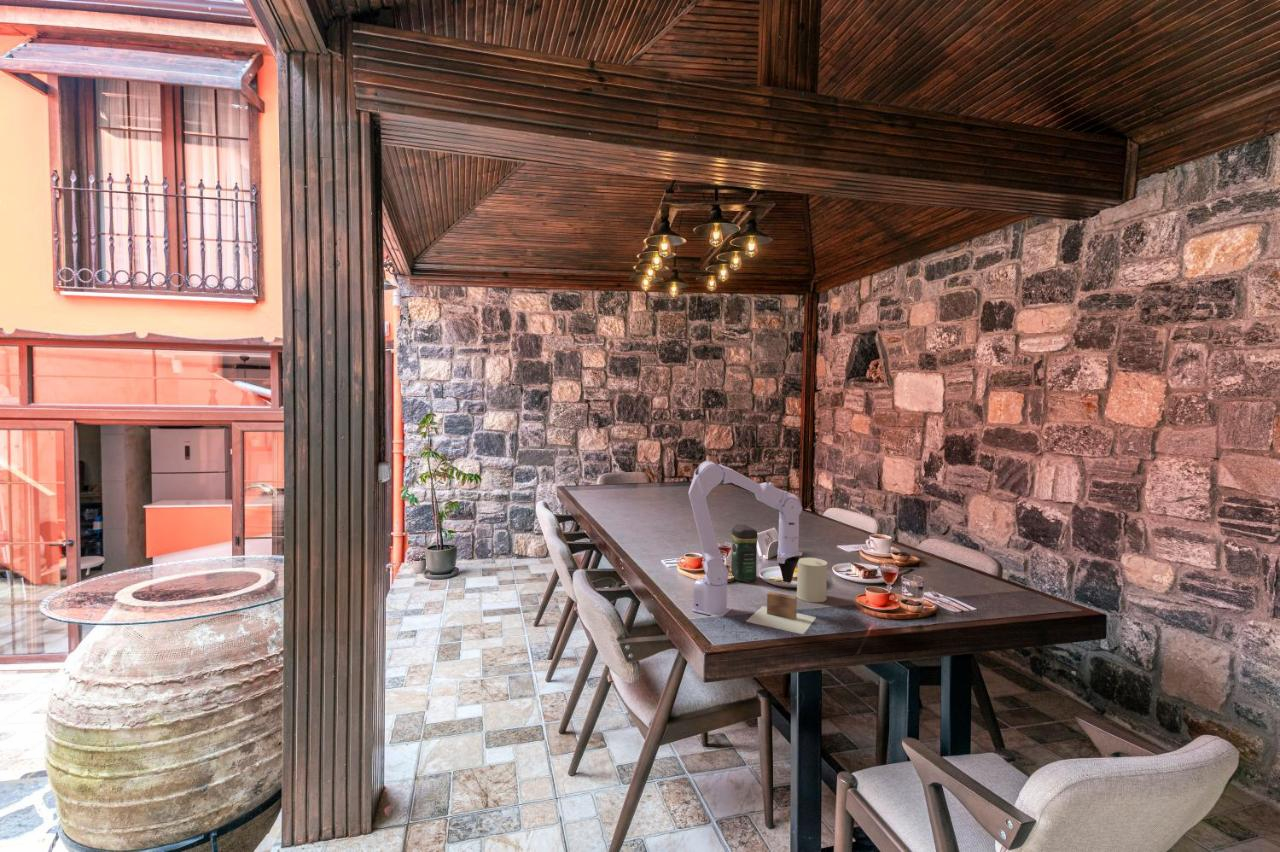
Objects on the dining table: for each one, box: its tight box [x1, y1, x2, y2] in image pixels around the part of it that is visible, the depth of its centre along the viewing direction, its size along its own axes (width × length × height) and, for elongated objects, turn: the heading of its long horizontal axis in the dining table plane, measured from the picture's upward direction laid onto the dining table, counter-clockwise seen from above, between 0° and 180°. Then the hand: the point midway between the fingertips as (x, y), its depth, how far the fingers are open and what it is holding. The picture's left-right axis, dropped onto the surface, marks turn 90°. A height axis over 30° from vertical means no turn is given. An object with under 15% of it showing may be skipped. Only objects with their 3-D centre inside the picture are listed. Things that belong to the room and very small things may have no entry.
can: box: [795, 557, 828, 603], centre depth 181 cm, size 9×9×12 cm
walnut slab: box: [766, 591, 798, 620], centre depth 163 cm, size 8×2×6 cm, turn 59°
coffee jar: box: [730, 524, 758, 583], centre depth 199 cm, size 10×8×19 cm
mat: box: [745, 605, 817, 635], centre depth 161 cm, size 16×14×1 cm
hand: (787, 581), depth 168 cm, fingers closed
